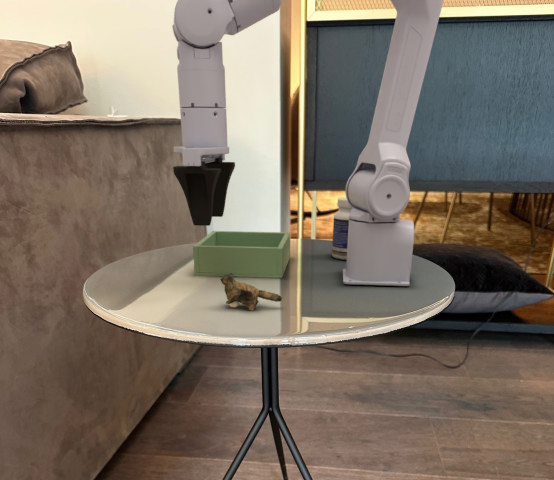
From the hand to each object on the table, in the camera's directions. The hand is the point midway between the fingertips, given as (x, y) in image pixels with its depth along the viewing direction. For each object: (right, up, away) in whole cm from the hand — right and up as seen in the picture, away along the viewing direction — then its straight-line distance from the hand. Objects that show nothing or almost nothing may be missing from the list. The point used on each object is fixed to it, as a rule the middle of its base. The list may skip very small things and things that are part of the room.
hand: (209, 220), depth 71 cm
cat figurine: (+6, -13, -5) cm, 15 cm away
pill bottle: (+22, 0, +22) cm, 31 cm away
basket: (+4, -3, +15) cm, 16 cm away
